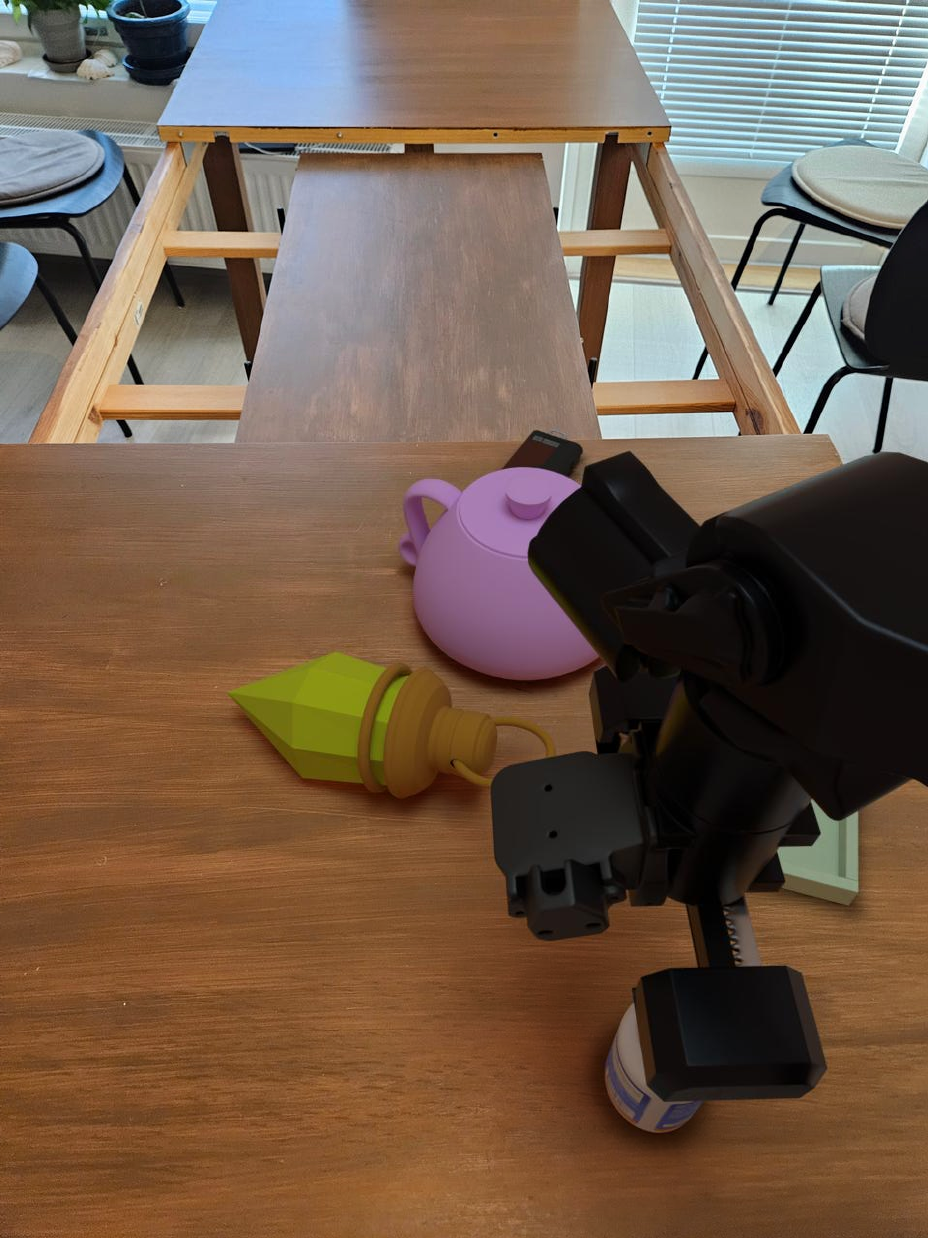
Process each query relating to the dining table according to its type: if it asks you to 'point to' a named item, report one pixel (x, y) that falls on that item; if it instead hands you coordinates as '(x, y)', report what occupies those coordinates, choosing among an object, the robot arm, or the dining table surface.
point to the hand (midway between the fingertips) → (651, 924)
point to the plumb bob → (373, 724)
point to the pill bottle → (639, 1084)
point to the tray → (825, 861)
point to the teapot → (491, 575)
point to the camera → (547, 453)
